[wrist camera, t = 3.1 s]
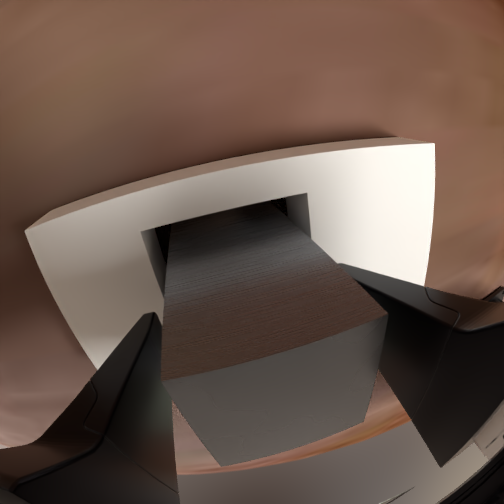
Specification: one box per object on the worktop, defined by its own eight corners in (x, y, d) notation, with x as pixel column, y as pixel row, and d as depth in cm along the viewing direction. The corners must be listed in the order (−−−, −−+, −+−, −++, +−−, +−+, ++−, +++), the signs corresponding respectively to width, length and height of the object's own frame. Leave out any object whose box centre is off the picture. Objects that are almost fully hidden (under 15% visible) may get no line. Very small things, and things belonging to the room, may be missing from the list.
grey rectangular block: (267, 199, 12) (388, 313, 5) (279, 281, 13) (363, 421, 6) (171, 222, 11) (161, 381, 4) (196, 303, 13) (220, 466, 6)
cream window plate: (398, 137, 12) (434, 143, 9) (395, 277, 15) (421, 299, 13) (51, 210, 10) (24, 230, 7) (117, 353, 13) (111, 389, 11)
